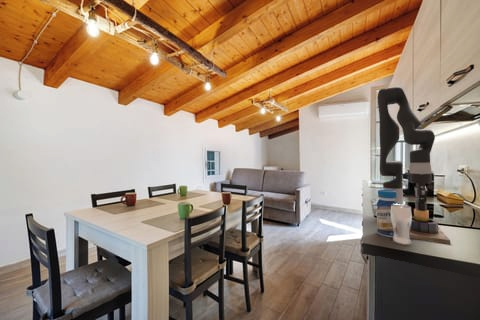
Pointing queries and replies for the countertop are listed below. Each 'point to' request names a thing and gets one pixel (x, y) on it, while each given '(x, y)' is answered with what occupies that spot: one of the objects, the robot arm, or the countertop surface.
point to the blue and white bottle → (385, 212)
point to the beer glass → (401, 223)
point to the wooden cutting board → (431, 236)
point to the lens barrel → (424, 226)
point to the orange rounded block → (421, 213)
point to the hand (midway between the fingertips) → (421, 209)
